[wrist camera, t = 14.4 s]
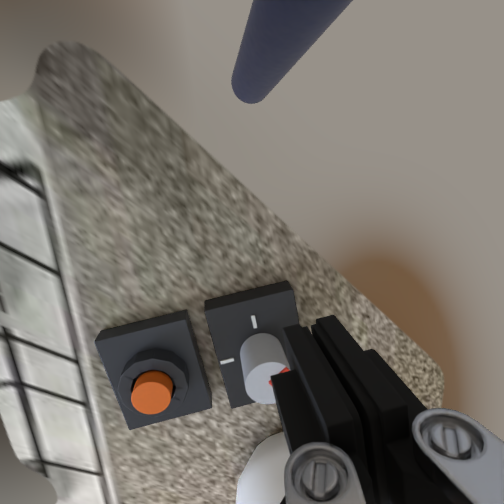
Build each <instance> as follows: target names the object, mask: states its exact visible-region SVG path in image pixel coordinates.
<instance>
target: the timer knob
mask: <svg viewBox="0 0 504 504" xmlns="http://www.w3.org/2000/svg"><path fill="white" fill-rule="evenodd" d="M240 358H241V364H242V370H243V376H244V382H245V388H246V392H247V394H248V395H249V397H250V398H251V399H252V400H254V401H256V402H258V403H261V404H273V403H276V400H275V396H274V392H273V387H272V383H271V378H270V376H271V375H275V374H279V373H283V372H287V371H290V366H289V363H288V361H287V358H286V356H285V353H284V351H283V348H282V346H281V343H280V342H279V340H278V339H277V338H276V337H274V336H273V335H270V334H267V333H259V334H255V335H253V336H251V337H249V338H248V339H247V340H246V341H245V342H244V343H243V345H242V347H241V350H240Z"/></svg>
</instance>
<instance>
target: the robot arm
mask: <svg viewBox="0 0 504 504" xmlns="http://www.w3.org/2000/svg"><path fill="white" fill-rule="evenodd" d="M311 329H312V334H311V332H310V330H309V329H308V327H307V326H306V327H301V326H300V324H295V325H291V326H287V327H283V328H282V331H283V336H284V341H285V346H286V351H287V356H288V361H289V366H290V371H287V372H283V373H279V374H275V375H271V376H270V378H271V383H272V387H273V392H274V396H275V400H276V405H277V409H278V413H279V417H280V420H281V424H282V428H283V431H284V435H285V439H286V442H287V446H288V449H289V453H290V457H289V458H288V460H287V463H286V465H285V469H284V486H285V496H284V498H283V499H282V501H281V503H280V504H504V442H503V441H502V440H501V439H500V438H498V437H497V436H496V435H495V434H493V433H492V432H491V431H489V430H488V429H486V427H484V426H483V425H482V424H480V423H479V422H478V421H476V420H475V419H473V418H471V417H470V416H468V415H466V414H464V413H461V412H458V411H456V410H451V409H446V408H433V409H429V410H427V408H426V407H425V406H424V405H423V404H422V403H421V402H420V401H419V399H418V398H417V397H416V396H415V395H414V394H413V393H412V391H411V390H410V389H409V388H408V387H407V386H406V385H405V384H404V382H403V381H402V380H401V379H400V378H399V377H398V376H397V374H396V373H395V372H394V371H393V370H392V369H391V368H390V367H389V365H388V364H387V363H386V362H385V361H384V360H383V359H382V357H381V356H380V355H379V354H378V353H377V352H376V351H375V350H373V349H370V350H366V351H363V350H362V348H361V347H360V346H359V345H358V343H357V342H356V341H355V340H354V339H353V337H352V336H351V335H350V334H349V332H348V331H347V330H346V329H345V328H344V326H343V325H342V324H341V323H340V322H339V320H338V319H337V318H336V317H335V316H334V315H330V316H327V317H323V318H319V319H316V324H314V325H311Z"/></svg>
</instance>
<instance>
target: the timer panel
mask: <svg viewBox="0 0 504 504" xmlns="http://www.w3.org/2000/svg"><path fill="white" fill-rule="evenodd" d="M205 315H206V319H207V322H208V326H209V330H210V333H211V337H212V340H213V344H214V348H215V351H216V355H217V359H218V362H219V366H220V369H221V373H222V377H223V380H224V384H225V387H226V391H227V395H228V398H229V402H230V406H231V408H236V407H240V406H244V405H247V404H251V403H255V402H256V401H254V400H252V399H251V398H250V397H249V395H248V394H247V392H246V388H245V382H244V376H243V370H242V364H241V358H240V350H241V347H242V345H243V343H244V342H245V341H246V340H247V339H248V338H249V337H251V336H253V335H255V334H259V333H267V334H270V335H273V336H274V337H276V338H277V339H278V340H279V342H280V343H281V346H282V348H283V351H284V353H285V356H286V358H287V361H288V356H287V351H286V346H285V341H284V336H283V331H282V328H283V327H287V326H291V325H295V324H299V319H298V313H297V308H296V302H295V297H294V291H293V288H292V287H291V285H290V284H289V282H288V281H284V282H280V283H275V284H271V285H267V286H263V287H259V288H255V289H251V290H247V291H243V292H239V293H235V294H231V295H226V296H222V297H218V298H214V299H210V300H206V301H205ZM288 363H289V361H288Z"/></svg>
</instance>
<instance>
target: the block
mask: <svg viewBox="0 0 504 504" xmlns="http://www.w3.org/2000/svg"><path fill="white" fill-rule="evenodd" d="M94 343H95V346H96V348H97V351H98V353H99V356H100V358H101V361H102V363H103V366H104V368H105V371H106V373H107V376H108V378H109V381H110V383H111V386H112V388H113V391H114V393H115V396H116V398H117V401H118V403H119V406H120V408H121V411H122V413H123V415H124V418H125V420H126V423H127V425H128V428H129V430H132V429H135V428H139V427H143V426H147V425H150V424H154V423H158V422H162V421H165V420H169V419H173V418H176V417H180V416H184V415H188V414H191V413H195V412H199V411H203V410H206V409H210V408H212V393H211V390H210V387H209V383H208V380H207V376H206V373H205V370H204V366H203V363H202V359H201V356H200V353H199V349H198V346H197V342H196V339H195V336H194V332H193V329H192V325H191V322H190V318H189V315H188V312H187V310H184V311H180V312H176V313H171V314H167V315H163V316H159V317H155V318H151V319H147V320H143V321H139V322H135V323H131V324H127V325H123V326H119V327H114V328H110V329H106V330H102V331H101V332H100V333H99V335H98V336H97V338H96V340H95V341H94ZM148 371H161V372H163V373H165V374H167V375H168V376H169V377H170V379H171V380H172V383H173V389H172V395H171V401H170V404H169V405H168V407H167V408H166V409H165V410H163V411H162V412H160V413H157V414H144V413H141V412H139V411H138V410H137V409H135V407H134V406H133V404H132V401H131V395H132V392H133V389H134V386H135V383H136V380H137V379H138V377H139V376H141V375H142V374H143V373H145V372H148Z"/></svg>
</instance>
